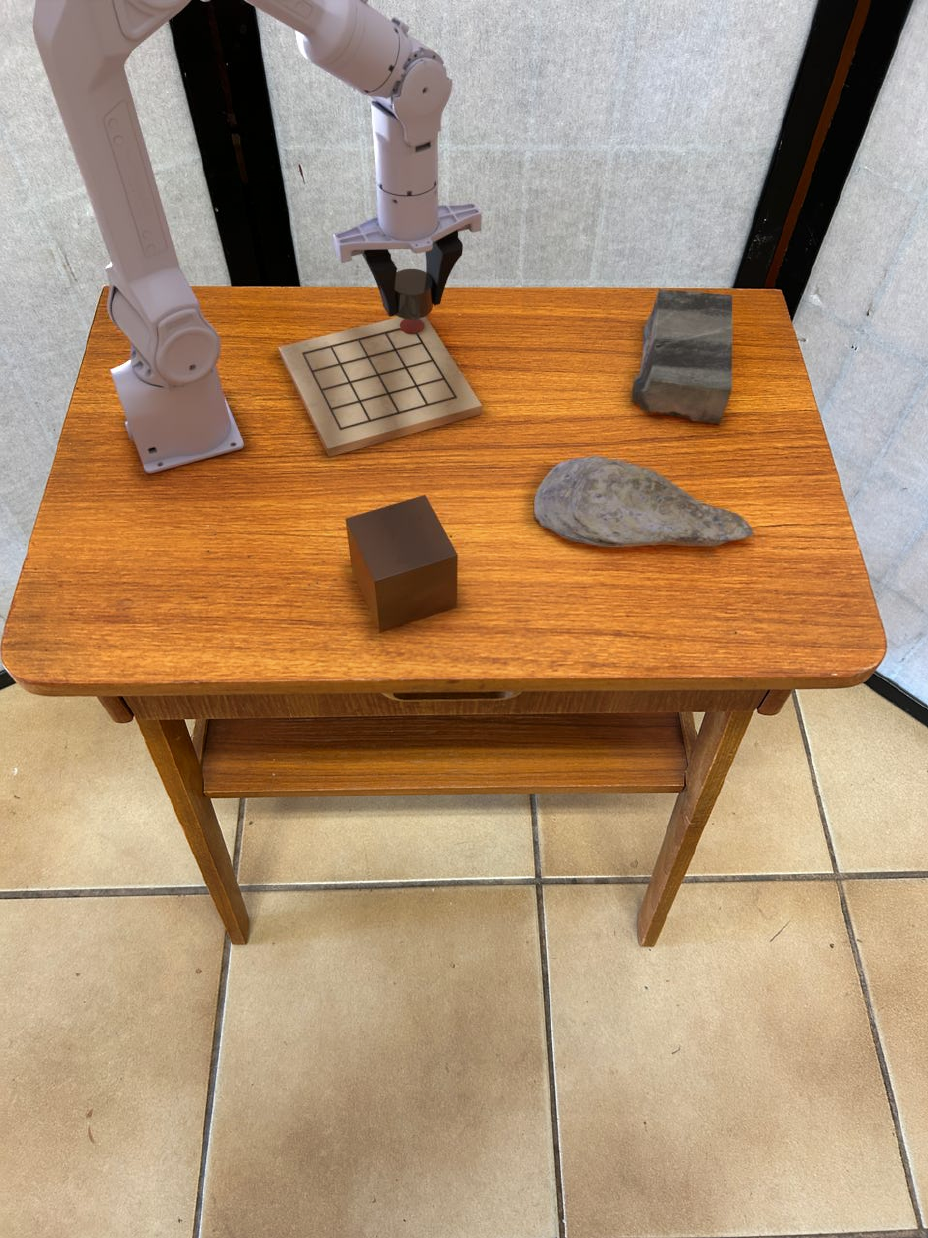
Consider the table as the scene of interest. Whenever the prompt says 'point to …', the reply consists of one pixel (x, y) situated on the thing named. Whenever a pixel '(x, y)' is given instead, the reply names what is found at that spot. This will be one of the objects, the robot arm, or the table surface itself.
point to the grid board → (378, 383)
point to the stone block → (687, 356)
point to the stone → (628, 507)
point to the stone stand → (403, 562)
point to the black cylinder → (413, 294)
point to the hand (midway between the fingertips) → (411, 304)
